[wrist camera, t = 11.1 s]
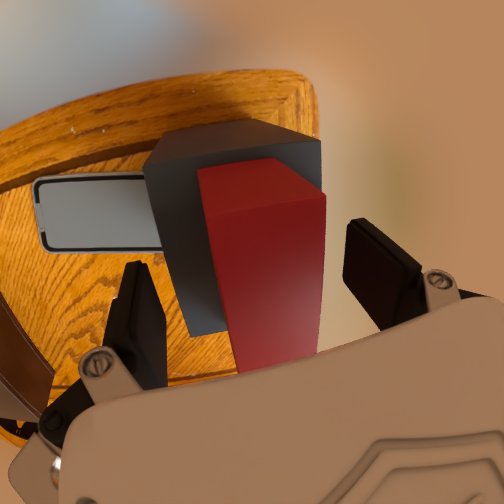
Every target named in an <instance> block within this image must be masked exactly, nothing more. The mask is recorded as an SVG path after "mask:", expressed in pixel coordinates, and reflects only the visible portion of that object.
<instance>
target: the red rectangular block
mask: <svg viewBox="0 0 504 504" xmlns="http://www.w3.org/2000/svg"><path fill="white" fill-rule="evenodd" d="M197 174H198V180H199V186H200V192H201V198H202V204H203V209H204V215H205V221H206V226H207V232H208V237H209V242H210V247H211V253H212V258H213V263H214V268H215V273H216V278H217V283H218V287H219V292H220V297H221V302H222V306H223V311H224V316H225V320H226V325H227V329H228V334H229V338H230V342H231V347H232V351H233V355H234V359H235V363H236V367H237V372H238V373H243V372H247V371H252V370H256V369H260V368H264V367H268V366H272V365H276V364H280V363H284V362H287V361H291V360H295V359H298V358H302V357H305V356H309V355H312V354H315V353H316V352H317V343H318V334H319V324H320V313H321V301H322V288H323V273H324V255H325V253H324V252H325V232H326V231H325V229H326V195H325V194H324V193H323V192H322V191H320V190H319V189H318V188H316V187H315V186H314V185H312V184H311V183H310V182H308V181H307V180H305V179H304V178H303V177H301V176H300V175H299V174H297V173H296V172H294V171H293V170H292V169H290V168H289V167H287V166H286V165H284V164H283V163H282V162H280V161H279V160H277V159H276V158H274V157H272V158H265V159H257V160H250V161H243V162H236V163H230V164H223V165H217V166H212V167H206V168H200V169H198V170H197Z"/></svg>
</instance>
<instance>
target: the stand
mask: <svg viewBox="0 0 504 504" xmlns="http://www.w3.org/2000/svg"><path fill="white" fill-rule="evenodd" d="M272 157H274V158H276V159H277V160H279V161H280V162H282V163H283V164H284V165H286V166H287V167H289V168H290V169H292V170H293V171H294V172H296V173H297V174H299V175H300V176H301V177H303V178H304V179H305V180H307V181H308V182H310V183H311V184H312V185H314V186H315V187H316V188H318V189H319V190H320V191H322V190H321V189H322V188H321V187H322V186H321V185H322V178H321V177H322V175H321V141H320V140H318V139H315V138H312V137H310V136H307V135H304V134H301V133H298V132H295V131H292V130H289V129H286V128H283V127H280V126H277V125H273V124H270V123H267V122H263V121H260V120H257V119H244V120H236V121H228V122H221V123H214V124H208V125H202V126H196V127H190V128H185V129H179V130H174V131H169V132H165V133H164V134H163V136H162V137H161V139H160V140H159V142H158V143H157V145H156V146H155V148H154V149H153V151H152V152H151V154H150V156H149V157H148V159H147V160H146V162H145V164H144V165H143V167H142V169H143V174H144V178H145V183H146V187H147V191H148V196H149V200H150V204H151V208H152V212H153V216H154V220H155V224H156V228H157V231H158V235H159V239H160V242H161V246H162V250H163V253H164V257H165V260H166V263H167V267H168V270H169V273H170V277H171V280H172V283H173V286H174V290H175V293H176V296H177V299H178V302H179V305H180V308H181V311H182V314H183V317H184V320H185V323H186V326H187V328H188V331H189V334H190V337H191V338H192V337H197V336H203V335H208V334H213V333H218V332H223V331H228V329H227V325H226V320H225V316H224V311H223V306H222V302H221V297H220V292H219V287H218V283H217V278H216V273H215V268H214V263H213V258H212V253H211V247H210V242H209V237H208V232H207V226H206V221H205V215H204V209H203V204H202V198H201V192H200V186H199V180H198V174H197V170H198V169H200V168H206V167H212V166H217V165H223V164H230V163H236V162H243V161H250V160H257V159H265V158H272Z"/></svg>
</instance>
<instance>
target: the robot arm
mask: <svg viewBox="0 0 504 504" xmlns="http://www.w3.org/2000/svg"><path fill="white" fill-rule="evenodd" d="M421 269H422V266H421V265H420V264H419V263H418V262H417V261H416V260H415V259H413V258H412V257H411V256H410V255H409V254H408V253H407V252H405V251H404V250H403V249H402V248H401V247H400V246H398V245H397V244H396V243H395V242H394V241H392V240H391V239H390V238H389V237H388V236H386V235H385V234H384V233H383V232H382V231H380V230H379V229H378V228H377V227H375V226H374V225H373V224H372V223H370V222H369V221H368V220H366V219H365V218H359V219H353V220H351V221H350V223H349V224H348V225H347V231H346V243H345V254H344V265H343V275H342V277H343V281H344V283H345V284H346V286H347V287H348V288H349V290H350V291H351V292H352V294H353V295H354V296H355V297H356V299H357V300H358V301H359V303H360V304H361V305H362V307H363V308H364V309H365V311H366V312H367V313H368V314H369V316H370V317H371V319H372V320H373V321H374V322H375V324H376V325H377V327H378V328H379V329H380V331H381V332H378V333H375V334H373V335H370V336H367V337H364V338H362V339H359V340H356V341H353V342H350V343H347V344H344V345H341V346H338V347H335V348H332V349H329V350H325V351H322V352H319V353H315V354H312V355H309V356H305V357H302V358H298V359H295V360H291V361H287V362H284V363H280V364H276V365H272V366H268V367H264V368H260V369H256V370H252V371H247V372H243V373H238V374H234V375H229V376H224V377H219V378H214V379H209V380H204V381H198V382H193V383H188V384H182V385H176V386H170V387H168V381H167V339H166V316H165V313H164V311H163V308H162V305H161V303H160V300H159V297H158V294H157V292H156V289H155V286H154V283H153V280H152V278H151V275H150V272H149V269H148V266H147V264H146V263H142V262H141V261H140V260H139V261H134V262H129V263H126V266H125V270H124V273H123V277H122V281H121V285H120V289H119V293H118V298H115V299H113V301H112V303H111V307H110V312H109V316H108V320H107V325H106V329H105V334H104V339H103V344H102V346H99V347H95V348H93V349H91V350H89V351H88V352H86V353H85V354H84V355H83V357H82V358H81V360H80V362H79V365H78V371H79V375H80V377H81V378H80V379H78V380H77V381H76V382H75V383H74V384H73V385H72V386H71V387H69V388H68V389H67V390H66V391H65V392H64V393H63V394H62V395H60V396H59V397H58V398H57V399H56V400H55V401H54V402H53V403H51V404H50V405H49V406H48V407H47V408H46V409H45V410H44V411H43V413H42V414H41V417H40V420H39V430H40V432H39V433H38V434H36V433H35V432H34V433H33V435H32V436H31V437H30V438H29V440H28V441H27V442H26V444H25V445H24V446H23V448H22V449H21V450H20V452H19V453H18V454H17V456H16V457H15V459H14V460H13V461H12V463H11V464H10V467H9V469H8V478H9V481H10V483H11V485H12V486H13V488H14V489H15V490H16V492H17V493H18V494H19V495H20V497H21V498H22V499H23V501H25V503H26V504H504V303H503V302H501V301H500V300H498V299H495V298H492V297H488V296H484V295H481V294H477V293H473V292H469V291H465V290H461V289H458V288H457V284H456V282H455V280H454V278H453V277H452V276H451V275H450V274H448V273H447V272H444V271H442V270H438V269H431V270H428V271H426V272H425V273H424V274H423V273H422V272H421Z"/></svg>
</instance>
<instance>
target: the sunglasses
mask: <svg viewBox="0 0 504 504" xmlns="http://www.w3.org/2000/svg"><path fill="white" fill-rule="evenodd" d="M0 426H1V427H3V428H4V429H5V430H6V431H8V432H9V433H11V434H13V435H15V436H17V437H20V438H22V439H25V440H29V438H30V437H31V436H32V435H33V433H34V432H35V433H36V434H38V433H39V432H40V430H39V423H36V422H27V421H26V422H25V423H24V424H23V426H22V427H21V428H18V426H17V421H16V420H13V419H6V418H0ZM17 429H18V430H17ZM20 430H21V431H20ZM16 432H17V433H16ZM19 433H20V435H19Z"/></svg>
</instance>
